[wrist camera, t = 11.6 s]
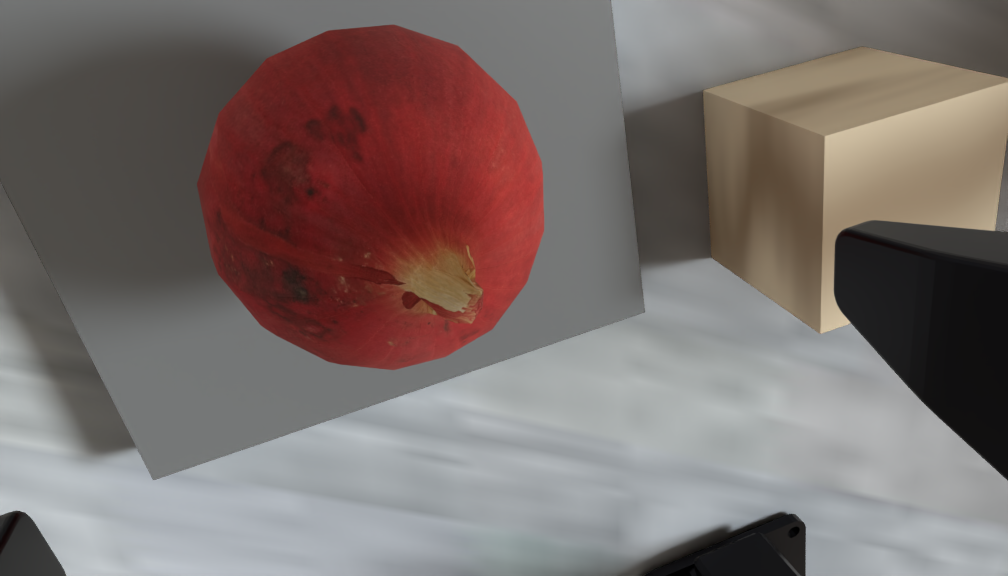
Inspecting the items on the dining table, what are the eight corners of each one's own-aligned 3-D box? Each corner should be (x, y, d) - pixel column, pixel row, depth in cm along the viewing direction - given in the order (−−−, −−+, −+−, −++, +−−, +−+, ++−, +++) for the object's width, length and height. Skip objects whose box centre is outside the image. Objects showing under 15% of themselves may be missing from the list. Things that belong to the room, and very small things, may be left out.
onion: (232, 294, 18) (245, 528, 11) (173, 21, 15) (143, 98, 8) (483, 251, 19) (636, 432, 12) (468, -4, 17) (647, 45, 10)
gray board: (620, 289, 23) (644, 312, 22) (156, 444, 20) (153, 480, 19) (553, -247, 17) (582, -259, 16) (-124, -123, 14) (-157, -126, 13)
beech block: (853, 210, 25) (988, 274, 20) (709, 256, 24) (820, 334, 19) (860, 46, 22) (1015, 79, 18) (701, 89, 21) (825, 135, 17)
